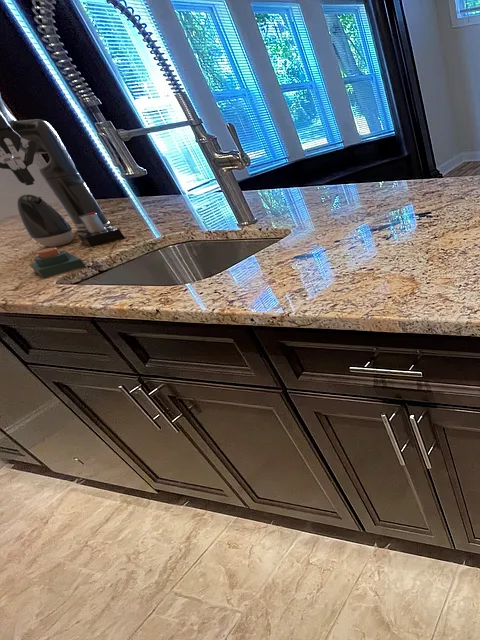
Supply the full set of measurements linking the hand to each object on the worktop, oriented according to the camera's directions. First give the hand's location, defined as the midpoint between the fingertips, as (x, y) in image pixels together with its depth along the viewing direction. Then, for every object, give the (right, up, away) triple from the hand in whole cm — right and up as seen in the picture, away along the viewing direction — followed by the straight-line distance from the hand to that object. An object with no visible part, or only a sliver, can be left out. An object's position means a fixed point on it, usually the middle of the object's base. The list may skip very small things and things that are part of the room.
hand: (29, 184), depth 112 cm
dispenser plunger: (+4, -19, +1) cm, 19 cm away
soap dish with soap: (+4, -22, +4) cm, 22 cm away
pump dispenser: (-19, -8, +25) cm, 33 cm away
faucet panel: (-5, -6, +25) cm, 26 cm away
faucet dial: (-5, -4, +23) cm, 24 cm away
